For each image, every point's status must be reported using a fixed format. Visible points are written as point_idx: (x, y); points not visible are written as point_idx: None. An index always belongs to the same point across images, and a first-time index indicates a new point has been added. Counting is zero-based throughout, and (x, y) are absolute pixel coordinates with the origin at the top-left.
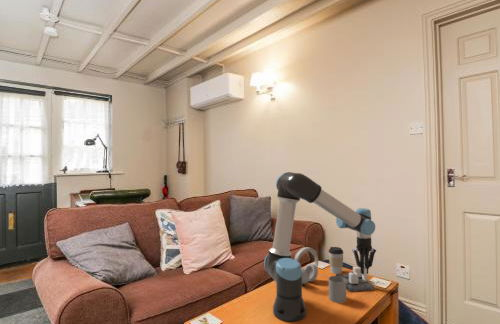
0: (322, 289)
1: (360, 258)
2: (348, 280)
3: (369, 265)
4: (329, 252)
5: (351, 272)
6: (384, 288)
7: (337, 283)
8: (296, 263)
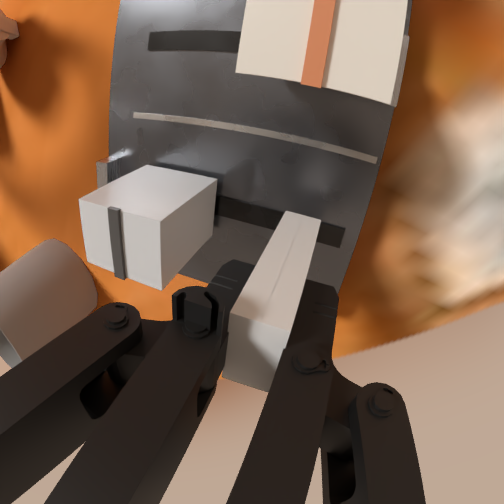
0: (24, 160)
1: (75, 482)
2: (165, 121)
3: (324, 443)
4: None
5: (106, 207)
6: (432, 310)
7: (7, 358)
8: None
